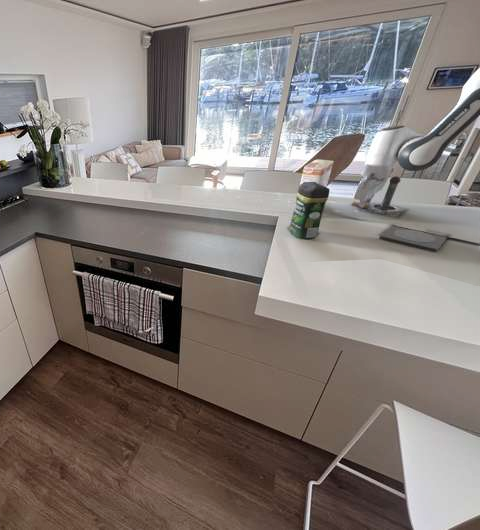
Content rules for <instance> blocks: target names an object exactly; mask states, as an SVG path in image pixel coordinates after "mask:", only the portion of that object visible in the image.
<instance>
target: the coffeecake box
mask: <svg viewBox="0 0 480 530" xmlns="http://www.w3.org/2000/svg"><path fill="white" fill-rule="evenodd" d="M333 166H334V160H327V159H315V160H313V161H311V162H309V163H308V164H307V165H305V166H303V170H302V174H301V179H300V183H299V186H300V185H301V184H302V183H304V182H316V183H318V184H320V185H323V186H325V187H327V188H328V183H329V180H330V176H331V173H332V169H333Z"/></svg>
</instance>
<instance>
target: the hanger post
mask: <svg viewBox="0 0 480 530" xmlns="http://www.w3.org/2000/svg"><path fill="white" fill-rule="evenodd" d="M400 182H401V177H399V176H393V177H391V178H390V179H389V184H388V187H387V189H386V192H385V194H384V197H383V199H382V202H381V203H382V204H381V207H379V209H382V210H389V208H388V207H389V205H391V202H392V200H393V197H394V195H395V193H396V190H397V188H398V186H399V183H400Z"/></svg>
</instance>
